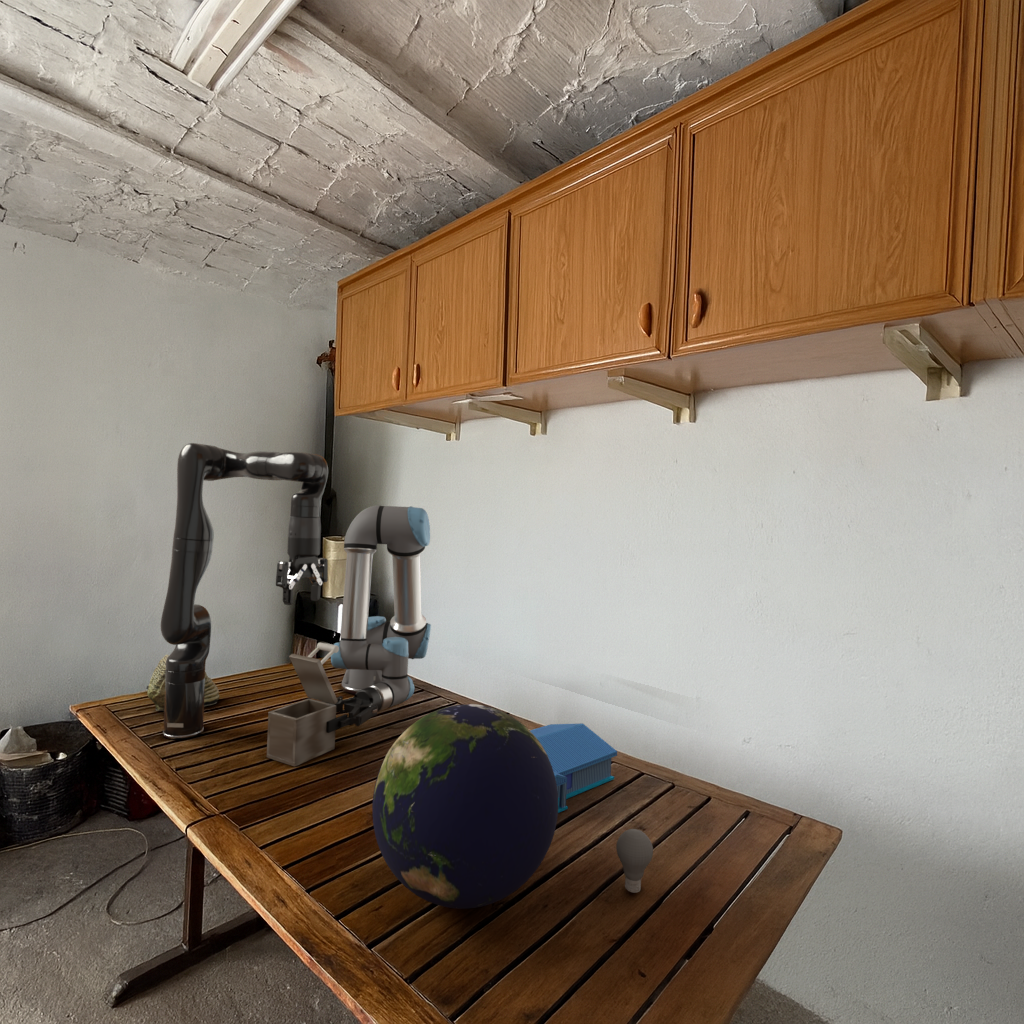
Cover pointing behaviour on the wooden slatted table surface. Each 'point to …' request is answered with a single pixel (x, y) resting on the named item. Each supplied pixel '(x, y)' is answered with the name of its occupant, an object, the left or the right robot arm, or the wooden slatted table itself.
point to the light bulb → (634, 857)
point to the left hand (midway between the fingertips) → (301, 602)
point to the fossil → (158, 687)
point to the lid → (315, 674)
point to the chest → (300, 731)
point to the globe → (465, 806)
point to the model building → (575, 758)
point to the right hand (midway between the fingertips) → (312, 723)
